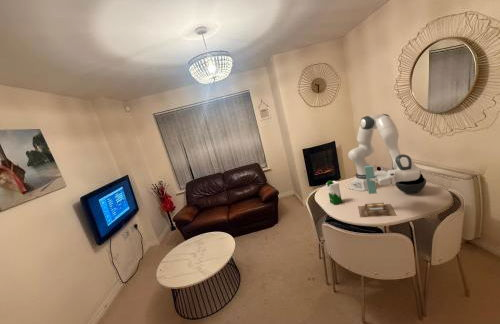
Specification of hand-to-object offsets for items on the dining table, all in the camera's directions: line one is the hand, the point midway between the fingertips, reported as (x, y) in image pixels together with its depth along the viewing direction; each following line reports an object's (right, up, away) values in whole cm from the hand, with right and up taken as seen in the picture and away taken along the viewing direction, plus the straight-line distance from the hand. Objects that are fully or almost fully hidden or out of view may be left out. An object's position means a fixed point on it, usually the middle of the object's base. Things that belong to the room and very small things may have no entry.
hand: (369, 178), depth 156 cm
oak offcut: (+5, -23, 0) cm, 24 cm away
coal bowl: (+42, -12, +17) cm, 47 cm away
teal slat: (+3, -10, +2) cm, 11 cm away
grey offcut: (+4, -24, -3) cm, 25 cm away
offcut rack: (+6, -24, +1) cm, 25 cm away
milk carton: (-11, -23, +31) cm, 40 cm away
